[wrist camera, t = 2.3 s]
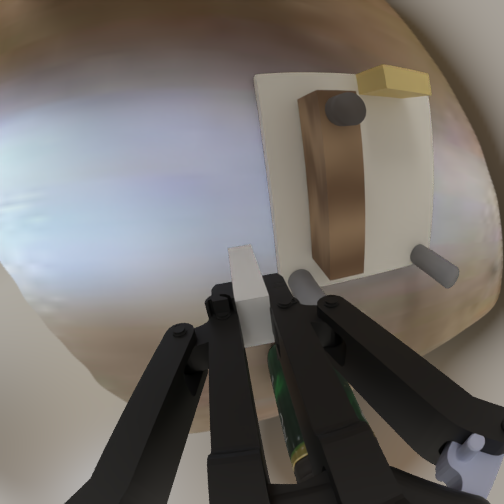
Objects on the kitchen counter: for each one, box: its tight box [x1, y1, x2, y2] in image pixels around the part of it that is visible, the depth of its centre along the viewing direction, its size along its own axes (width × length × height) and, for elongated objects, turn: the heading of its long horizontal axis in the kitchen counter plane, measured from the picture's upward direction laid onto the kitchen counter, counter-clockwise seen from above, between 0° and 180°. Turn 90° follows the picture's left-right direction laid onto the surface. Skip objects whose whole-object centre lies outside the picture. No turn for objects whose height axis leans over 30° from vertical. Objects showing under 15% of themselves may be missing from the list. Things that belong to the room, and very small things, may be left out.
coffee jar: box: [268, 344, 379, 484], centre depth 24 cm, size 10×8×19 cm
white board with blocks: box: [253, 64, 459, 305], centre depth 21 cm, size 20×18×8 cm
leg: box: [297, 90, 366, 281], centre depth 19 cm, size 14×3×6 cm, turn 8°
